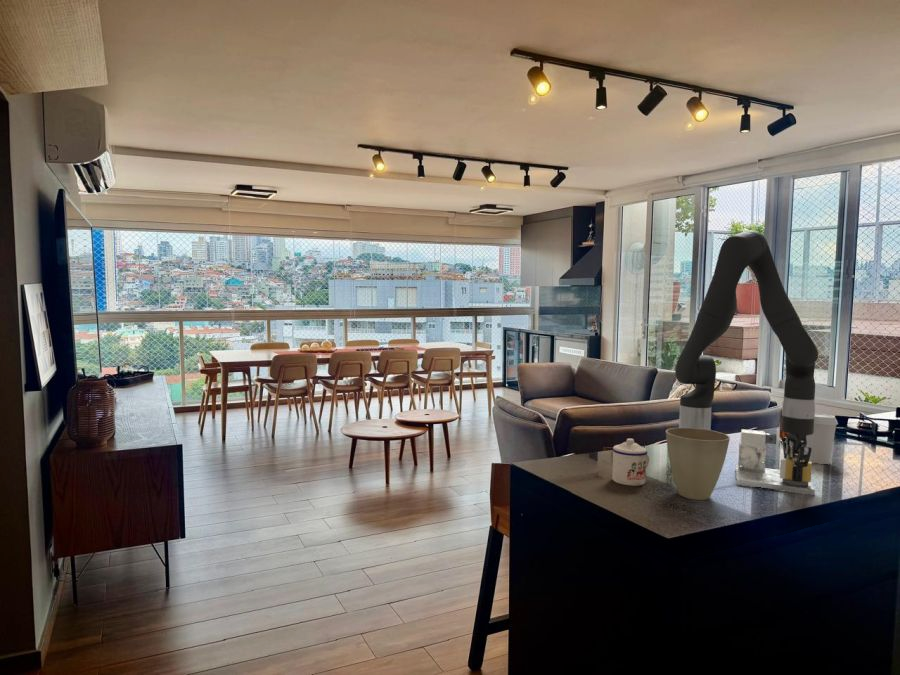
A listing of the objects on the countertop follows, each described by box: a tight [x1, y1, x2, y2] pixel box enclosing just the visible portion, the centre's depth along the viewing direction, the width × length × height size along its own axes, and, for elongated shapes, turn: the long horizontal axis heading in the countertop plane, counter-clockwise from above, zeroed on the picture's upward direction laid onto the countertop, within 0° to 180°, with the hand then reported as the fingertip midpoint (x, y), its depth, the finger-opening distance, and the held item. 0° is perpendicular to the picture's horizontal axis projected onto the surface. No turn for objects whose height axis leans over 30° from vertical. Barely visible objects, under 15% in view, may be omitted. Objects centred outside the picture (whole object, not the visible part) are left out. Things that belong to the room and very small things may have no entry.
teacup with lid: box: [612, 438, 650, 487], centre depth 161 cm, size 12×9×12 cm
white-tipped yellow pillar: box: [779, 457, 813, 486], centre depth 157 cm, size 7×6×6 cm
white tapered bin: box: [806, 412, 839, 465], centre depth 187 cm, size 10×10×15 cm
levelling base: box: [735, 428, 816, 496], centre depth 163 cm, size 18×18×12 cm
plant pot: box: [665, 427, 731, 501], centre depth 149 cm, size 15×15×16 cm
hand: (794, 478), depth 157 cm, fingers closed on white-tipped yellow pillar, 3 cm apart
